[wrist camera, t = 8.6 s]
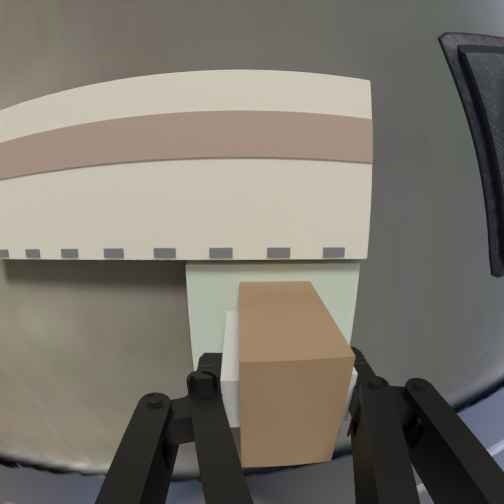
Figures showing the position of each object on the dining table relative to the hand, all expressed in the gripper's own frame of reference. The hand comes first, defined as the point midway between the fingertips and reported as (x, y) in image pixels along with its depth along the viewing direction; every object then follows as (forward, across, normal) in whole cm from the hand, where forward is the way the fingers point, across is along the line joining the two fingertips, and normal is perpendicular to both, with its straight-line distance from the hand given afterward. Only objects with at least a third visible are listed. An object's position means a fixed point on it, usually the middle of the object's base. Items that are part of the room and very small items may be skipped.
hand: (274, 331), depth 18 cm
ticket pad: (+2, -8, +10) cm, 12 cm away
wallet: (+3, +22, +14) cm, 26 cm away
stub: (+2, 0, 0) cm, 2 cm away
